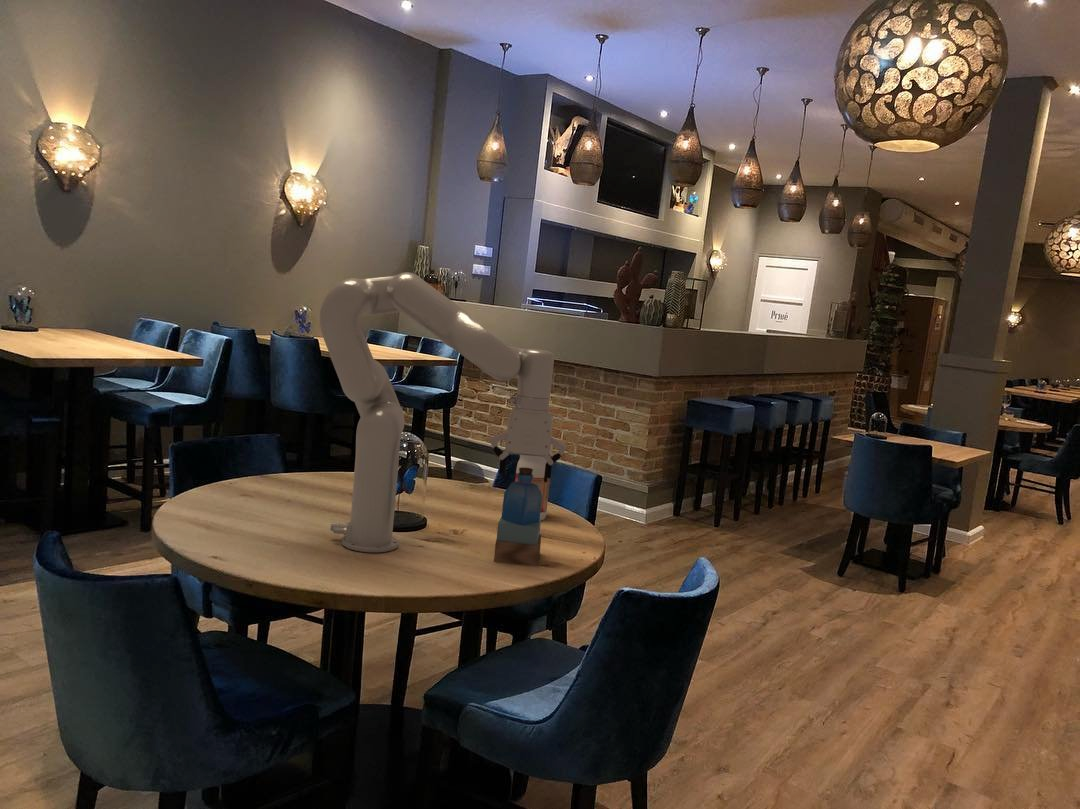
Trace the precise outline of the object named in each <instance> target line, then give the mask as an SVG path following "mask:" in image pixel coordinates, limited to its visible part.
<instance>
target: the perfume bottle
mask: <svg viewBox="0 0 1080 809" xmlns="http://www.w3.org/2000/svg"><path fill="white" fill-rule="evenodd" d="M532 471H533V469H531V468H524V467H521V468H519V472H520V473H518V478H519V480H518V481H517V482H515V481H511V483H510V484H509V486H508V487H507V488H506V490H505V491H504V492H503V502H502V508H501V509H502V510H501V517H502V518H501V517H500V519H503V520H506V521H509V522H512V523H516V524H519V525H522V526H523V525H527V524H532V523H536V522H539V520H540V511H541V502H542V494H541V492H540V490H539V488H538V486H537V484H534V483H531V480H532V479H533V474H532Z"/></svg>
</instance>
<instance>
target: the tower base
mask: <svg viewBox="0 0 1080 809" xmlns="http://www.w3.org/2000/svg"><path fill="white" fill-rule="evenodd" d="M541 542H542V534H541V533H540V535H539V538H538V541H537V545H530V544H522V543H514V542H506V541H498V540H497V538H496V539H495V546H494V555H493V562H494V563H500V564H510V565H521V566H528V567H529V566H530V567H537V568H538V567H539V563H540V554H541V547H542V544H541Z"/></svg>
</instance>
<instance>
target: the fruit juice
mask: <svg viewBox="0 0 1080 809" xmlns="http://www.w3.org/2000/svg"><path fill="white" fill-rule="evenodd" d="M553 448H554V445H552V444H551V448H550V453H549V454H550V455H551V456H553V455H552V454H553V450H554V449H553ZM546 463H547V461H546V460H545V458H544V457H540V456H530V455H521V454H519V460H518V461H517V465H516V470H515V479H514V482H517V481H518V480H519V478H518V473H520V472H519V468H521V467H524V468H531V469H533V471H532V474H533V479H532V480H531V483H534V484H537V486H538V488H539V490H540V492H541V494H542V502H541V511H540V518H541V521H544V520H545V519H546V517H547V511H548V509H547V508H548V501H549V492H550V484H551V477H550V478H547V482H544V474H545V465H546Z"/></svg>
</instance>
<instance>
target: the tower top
mask: <svg viewBox="0 0 1080 809" xmlns="http://www.w3.org/2000/svg"><path fill="white" fill-rule="evenodd" d="M501 518H502V516H501V517H500V518H499V521H498V523H497V533H496V539H497V540H498V541H506V542H514V543H522V544H530V545H537V541H538V538H539V535H540V534H541V526H542V525H541V524H542V520H541V518H540V520H539V522H536V523H532V524H527V525H523V526H522V525H519V524H516V523H512V522H509V521H506V520H503V519H501Z"/></svg>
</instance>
